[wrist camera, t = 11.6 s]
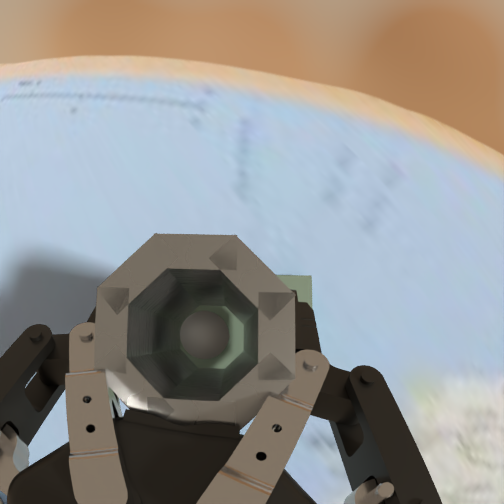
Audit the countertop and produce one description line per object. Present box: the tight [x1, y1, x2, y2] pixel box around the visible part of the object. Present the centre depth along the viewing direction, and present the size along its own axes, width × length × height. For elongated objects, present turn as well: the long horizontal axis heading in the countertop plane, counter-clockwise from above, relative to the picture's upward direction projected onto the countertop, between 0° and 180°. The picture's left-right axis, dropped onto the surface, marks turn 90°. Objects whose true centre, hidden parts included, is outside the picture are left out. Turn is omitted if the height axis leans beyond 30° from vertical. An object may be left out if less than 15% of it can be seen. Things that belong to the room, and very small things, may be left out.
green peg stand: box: [180, 275, 312, 368], centre depth 18 cm, size 14×9×11 cm, turn 90°
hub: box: [94, 233, 296, 430], centre depth 13 cm, size 6×6×10 cm
